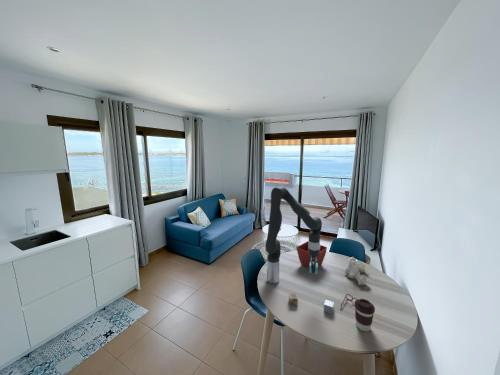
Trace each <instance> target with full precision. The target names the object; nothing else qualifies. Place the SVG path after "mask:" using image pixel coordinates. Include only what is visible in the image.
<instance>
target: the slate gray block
mask: <svg viewBox="0 0 500 375" xmlns="http://www.w3.org/2000/svg"><path fill="white" fill-rule="evenodd" d="M334 304H335V302H334V301H331V300H328V299H325V300H324V303H323V313H328V314H330V315H333V313H334V310H335V309H334V308H335V306H334Z"/></svg>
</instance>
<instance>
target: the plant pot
mask: <svg viewBox="0 0 500 375" xmlns="http://www.w3.org/2000/svg"><path fill="white" fill-rule="evenodd" d="M308 242H309V240H308V241H307V240H306V241H305V242H304V243H302V244H300V245H298V246H296V251H297V256H298V259H299V262H300V264H301V266H302V267H305V268H307V269H309V270H310V262H311V255H309V254H308ZM327 250H328V247H327V246H326V245H321V244H320V255H319V256H317V261H316V263H318V268H320V267H321V266H322V265H323V262H324V260H325V258H326V257H325V256H326V254H327Z"/></svg>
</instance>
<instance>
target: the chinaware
mask: <svg viewBox="0 0 500 375" xmlns="http://www.w3.org/2000/svg"><path fill="white" fill-rule="evenodd" d="M367 269H368V267H367V265H366V264H363V263H361V262H359V263H358V259H356V258H355V257H354V256H352V257H349V258H348V264H347V267H346V268H345V269H344V273H345V275H346V276H347V278H350V279H354V280H356V281H357V282H358V284H357V285H358V286H359V285H360V286H365V285H366V284H367V283H368V282H369V279H370V278H369V277H367V276H366V275H365V274H361V273H364V272H365V271H366V270H367Z"/></svg>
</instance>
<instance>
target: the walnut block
mask: <svg viewBox="0 0 500 375" xmlns="http://www.w3.org/2000/svg"><path fill="white" fill-rule="evenodd" d="M298 301H299V298H298V294H297V293H292V292H290V293H288V302H289V306H292V307H293V306H295V307H296V306H299V305H298V304H299V302H298Z"/></svg>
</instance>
